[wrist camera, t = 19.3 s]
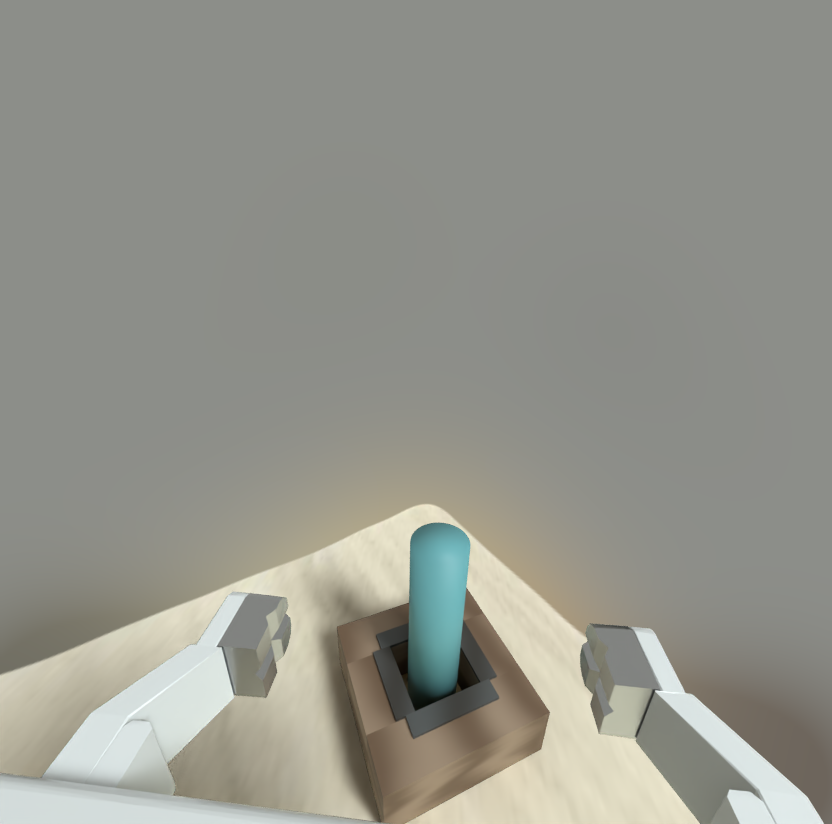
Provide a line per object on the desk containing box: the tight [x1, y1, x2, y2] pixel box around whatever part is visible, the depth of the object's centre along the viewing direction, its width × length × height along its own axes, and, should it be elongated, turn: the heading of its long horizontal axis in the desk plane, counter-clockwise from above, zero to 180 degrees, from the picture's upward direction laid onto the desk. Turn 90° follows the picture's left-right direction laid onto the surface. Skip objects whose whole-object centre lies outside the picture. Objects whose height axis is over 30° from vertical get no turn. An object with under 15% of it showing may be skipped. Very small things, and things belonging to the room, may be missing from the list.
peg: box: [408, 523, 470, 711], centre depth 33 cm, size 4×4×18 cm
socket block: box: [337, 588, 550, 824], centre depth 37 cm, size 14×14×5 cm
